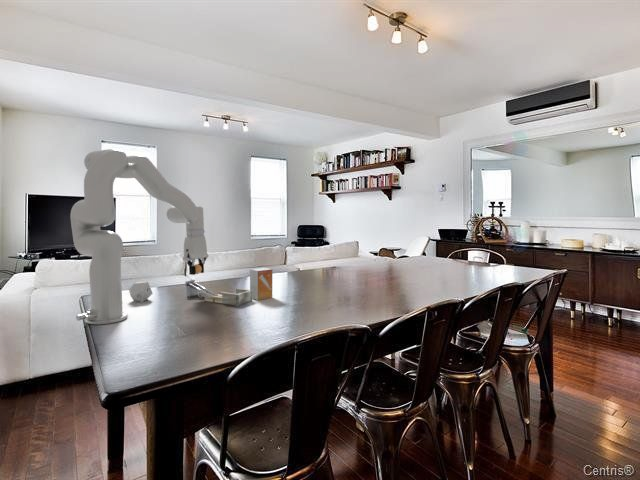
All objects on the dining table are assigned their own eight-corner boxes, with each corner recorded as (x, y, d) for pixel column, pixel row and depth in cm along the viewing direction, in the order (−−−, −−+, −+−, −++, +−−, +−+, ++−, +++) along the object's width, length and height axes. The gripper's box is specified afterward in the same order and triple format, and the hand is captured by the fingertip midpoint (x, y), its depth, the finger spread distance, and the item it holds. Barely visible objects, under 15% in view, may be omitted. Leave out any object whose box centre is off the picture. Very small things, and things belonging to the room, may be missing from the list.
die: (129, 305, 148) (144, 286, 148) (120, 292, 153) (134, 274, 153) (146, 308, 156) (160, 290, 156) (137, 296, 160) (150, 278, 160)
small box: (257, 300, 156) (257, 270, 155) (249, 298, 160) (249, 269, 159) (272, 297, 161) (272, 268, 160) (264, 295, 166) (264, 267, 165)
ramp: (211, 299, 156) (210, 284, 156) (185, 296, 163) (185, 281, 162) (218, 297, 160) (218, 282, 160) (193, 294, 167) (193, 279, 167)
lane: (237, 305, 147) (237, 294, 146) (204, 300, 155) (204, 290, 154) (251, 300, 155) (251, 290, 155) (219, 296, 163) (219, 286, 163)
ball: (189, 274, 162) (189, 264, 161) (196, 272, 166) (196, 263, 165) (196, 275, 160) (196, 265, 159) (204, 273, 164) (203, 263, 163)
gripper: (202, 232, 170) (204, 270, 172) (174, 234, 155) (176, 276, 157) (214, 232, 167) (216, 271, 169) (186, 235, 152) (188, 277, 154)
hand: (196, 273), depth 163 cm, fingers closed on ball, 4 cm apart
